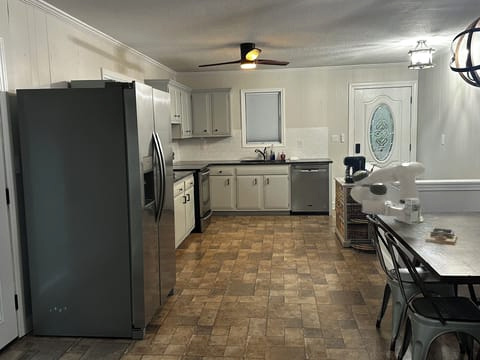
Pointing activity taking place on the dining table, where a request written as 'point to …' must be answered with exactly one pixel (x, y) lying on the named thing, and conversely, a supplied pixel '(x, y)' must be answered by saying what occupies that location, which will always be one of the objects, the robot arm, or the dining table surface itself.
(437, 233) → the socket board
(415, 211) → the syrup box
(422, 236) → the dining table surface
